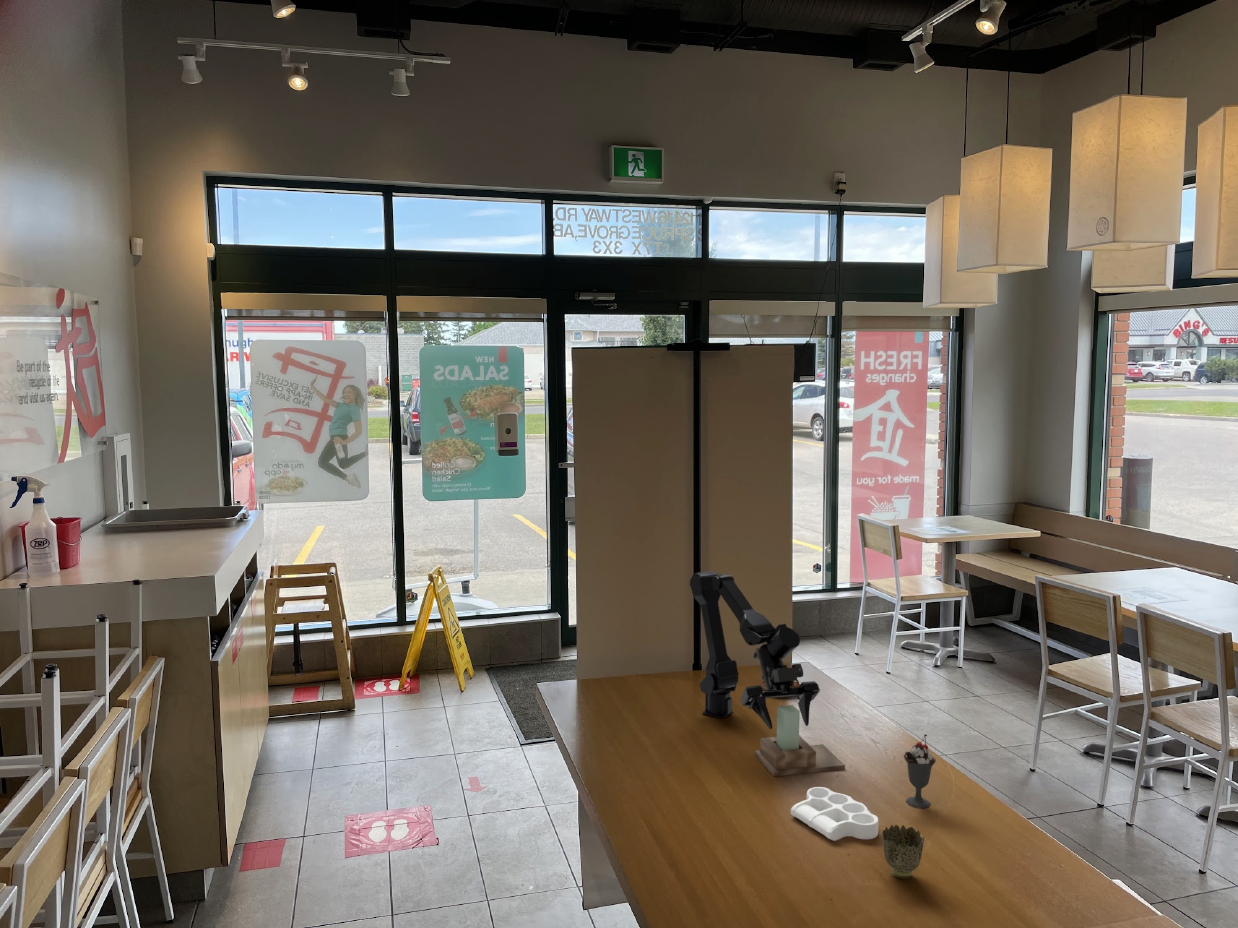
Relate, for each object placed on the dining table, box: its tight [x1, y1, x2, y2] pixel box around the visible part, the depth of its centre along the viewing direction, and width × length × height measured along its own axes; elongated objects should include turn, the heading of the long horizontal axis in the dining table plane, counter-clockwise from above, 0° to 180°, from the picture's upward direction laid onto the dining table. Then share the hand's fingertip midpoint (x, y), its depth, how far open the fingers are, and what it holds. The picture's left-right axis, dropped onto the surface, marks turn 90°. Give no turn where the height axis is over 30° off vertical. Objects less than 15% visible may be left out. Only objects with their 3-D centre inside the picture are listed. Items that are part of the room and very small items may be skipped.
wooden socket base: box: [754, 735, 846, 777], centre depth 209 cm, size 18×12×4 cm, turn 102°
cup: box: [881, 824, 925, 880], centre depth 161 cm, size 8×7×8 cm
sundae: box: [903, 734, 937, 809], centre depth 188 cm, size 7×7×15 cm
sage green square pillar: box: [776, 704, 801, 751], centre depth 208 cm, size 4×4×12 cm
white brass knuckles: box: [789, 786, 879, 842], centre depth 181 cm, size 3×18×15 cm
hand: (789, 726), depth 207 cm, fingers open, 9 cm apart
